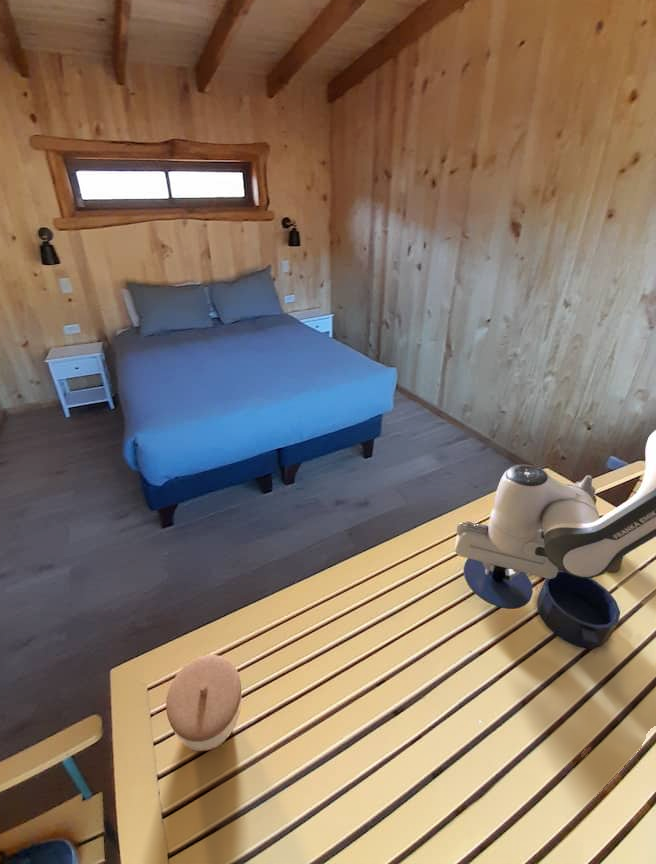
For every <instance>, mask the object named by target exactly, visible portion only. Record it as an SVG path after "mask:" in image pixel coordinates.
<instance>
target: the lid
mask: <svg viewBox="0 0 656 864" xmlns="http://www.w3.org/2000/svg"><path fill="white" fill-rule="evenodd" d="M490 565H493V564H490ZM493 566H494V574H493V576H489V575H486V571H485V570H486V568H485V566H484V565H483V562H481V561H477V560H473V559H469V558H466V560H465V562H464V566H463V570H462V571H463V577H464V580H465V582H466V584H467V586H468V587H469V588H470V590H471V591H472V592H473V593H474V594H475V595H476V596H477V597H478V598H480V599H481V600H483V601H484V602H486V603H488V604H489V605H492V606H494V607H497V608H500V609H505V610H516V609H521V608H523V607H525V606H527V605H528V604H529V603H530V602H531V599H532V597H533V593H534V591H533V590H534V589H533V584H532V582H531V579H530V577H529V576H528V573H524V572H520V574H518V575H516V576H514V577H512V580H511V581H508V580H505V579H504V575H505V572H506V569H508V568H504V567H500V566H497V565H493Z"/></svg>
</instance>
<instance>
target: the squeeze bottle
mask: <svg viewBox="0 0 656 864" xmlns="http://www.w3.org/2000/svg"><path fill="white" fill-rule="evenodd" d="M592 482H593V476H591V474H587V475H586V476H585V477H584V478H583V479H582V480H581V481H576V482H574V484H573V486H576V487H579V488H581V489H583V490H585V491H586V492H587V493H589V494H590V495H591V497H592V498H593V500H594V503H595V505H596V506H597V500H598V499H597V497H596V488H595V487H594V486H593V483H592Z"/></svg>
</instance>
